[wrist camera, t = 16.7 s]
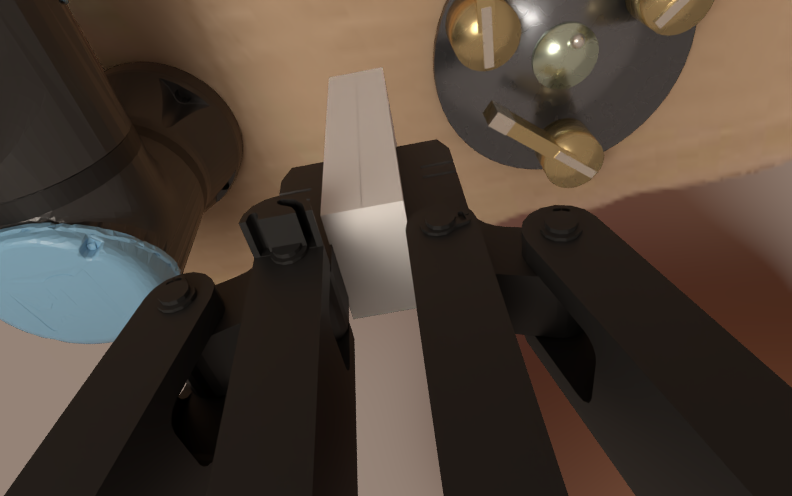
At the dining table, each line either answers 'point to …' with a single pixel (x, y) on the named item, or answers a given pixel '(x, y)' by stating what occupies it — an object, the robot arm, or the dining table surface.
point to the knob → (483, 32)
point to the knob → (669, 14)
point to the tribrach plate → (562, 75)
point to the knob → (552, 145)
